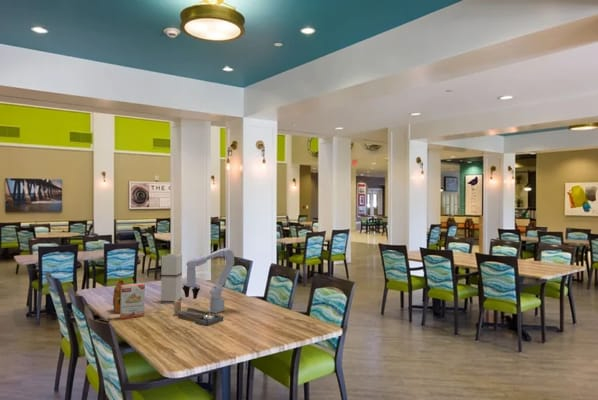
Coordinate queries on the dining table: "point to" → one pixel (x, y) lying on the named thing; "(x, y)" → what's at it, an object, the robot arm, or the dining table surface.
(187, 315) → the slot board
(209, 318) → the chip
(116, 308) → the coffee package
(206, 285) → the dining table surface
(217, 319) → the tray
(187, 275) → the robot arm
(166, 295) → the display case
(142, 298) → the cracker box
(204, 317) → the chip
